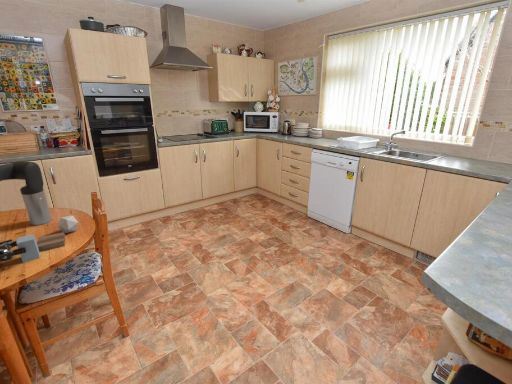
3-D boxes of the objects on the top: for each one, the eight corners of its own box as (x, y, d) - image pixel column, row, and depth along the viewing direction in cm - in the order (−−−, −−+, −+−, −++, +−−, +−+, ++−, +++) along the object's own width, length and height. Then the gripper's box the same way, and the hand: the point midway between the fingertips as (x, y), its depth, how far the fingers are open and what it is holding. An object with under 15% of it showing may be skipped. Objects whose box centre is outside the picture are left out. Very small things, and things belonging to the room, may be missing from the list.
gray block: (23, 256, 116) (17, 238, 113) (39, 252, 119) (33, 234, 116) (23, 262, 112) (16, 243, 109) (39, 257, 115) (33, 239, 112)
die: (80, 226, 143) (66, 213, 140) (84, 223, 137) (69, 210, 134) (67, 238, 138) (51, 225, 135) (70, 235, 132) (54, 221, 129)
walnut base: (39, 243, 127) (38, 237, 126) (65, 237, 132) (64, 232, 131) (37, 253, 119) (36, 247, 118) (65, 246, 124) (63, 240, 123)
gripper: (-36, 258, 97) (22, 244, 106) (-29, 242, 108) (24, 230, 117) (-28, 276, 100) (28, 260, 109) (-22, 258, 110) (29, 245, 120)
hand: (26, 245), depth 113 cm, fingers open, 8 cm apart
